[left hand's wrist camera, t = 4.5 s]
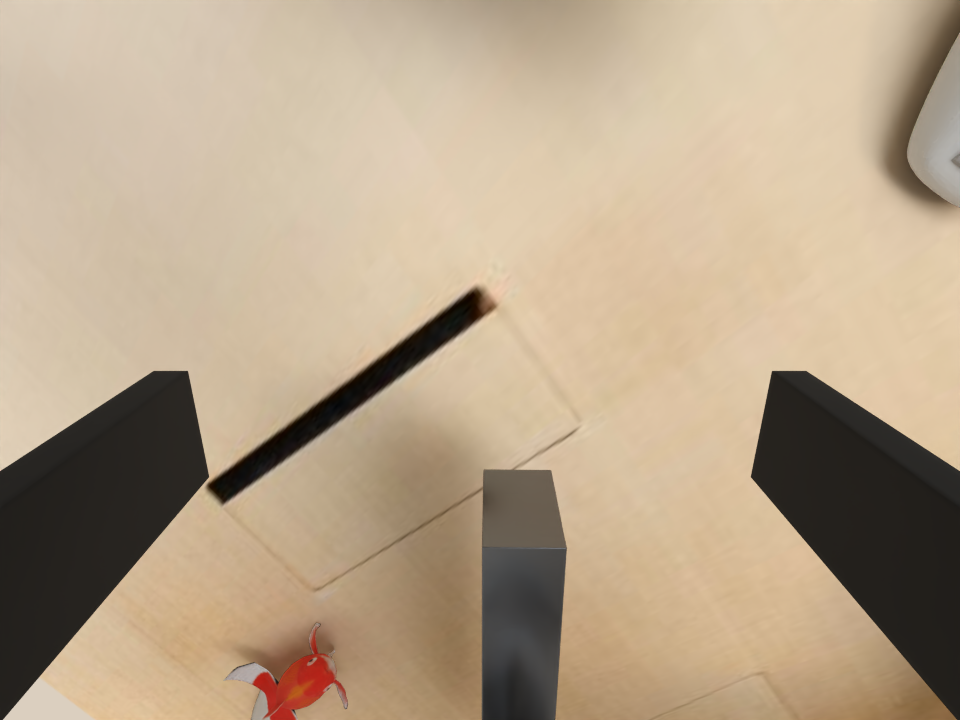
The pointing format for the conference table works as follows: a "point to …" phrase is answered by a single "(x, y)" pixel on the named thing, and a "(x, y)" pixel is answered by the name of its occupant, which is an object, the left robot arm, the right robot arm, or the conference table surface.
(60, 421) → the conference table surface
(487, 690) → the bar
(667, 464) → the conference table surface
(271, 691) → the fish
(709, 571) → the conference table surface
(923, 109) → the projector
